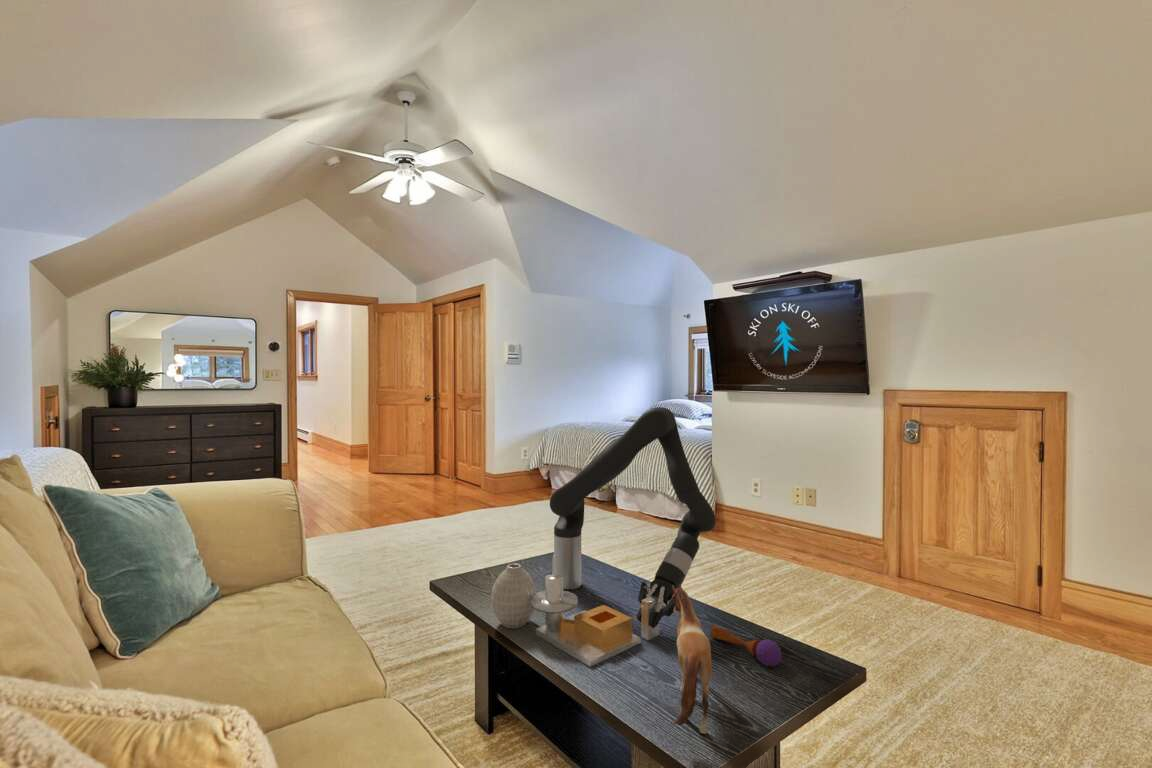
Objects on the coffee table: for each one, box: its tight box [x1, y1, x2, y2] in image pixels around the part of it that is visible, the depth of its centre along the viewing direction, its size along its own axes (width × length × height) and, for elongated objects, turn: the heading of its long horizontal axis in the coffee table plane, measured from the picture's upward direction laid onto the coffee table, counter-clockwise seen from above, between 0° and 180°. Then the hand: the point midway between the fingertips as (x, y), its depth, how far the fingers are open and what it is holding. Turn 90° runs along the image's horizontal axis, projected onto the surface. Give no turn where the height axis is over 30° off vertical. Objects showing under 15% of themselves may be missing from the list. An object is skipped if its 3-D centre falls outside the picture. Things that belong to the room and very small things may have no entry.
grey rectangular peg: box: [640, 596, 660, 641], centre depth 148 cm, size 2×4×10 cm, turn 131°
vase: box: [490, 563, 537, 630], centre depth 155 cm, size 13×13×17 cm
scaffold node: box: [530, 573, 641, 668], centre depth 147 cm, size 26×20×16 cm
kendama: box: [710, 624, 783, 668], centre depth 139 cm, size 6×6×20 cm
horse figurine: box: [671, 585, 712, 735], centre depth 117 cm, size 31×8×21 cm, turn 170°
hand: (645, 623), depth 146 cm, fingers open, 3 cm apart
